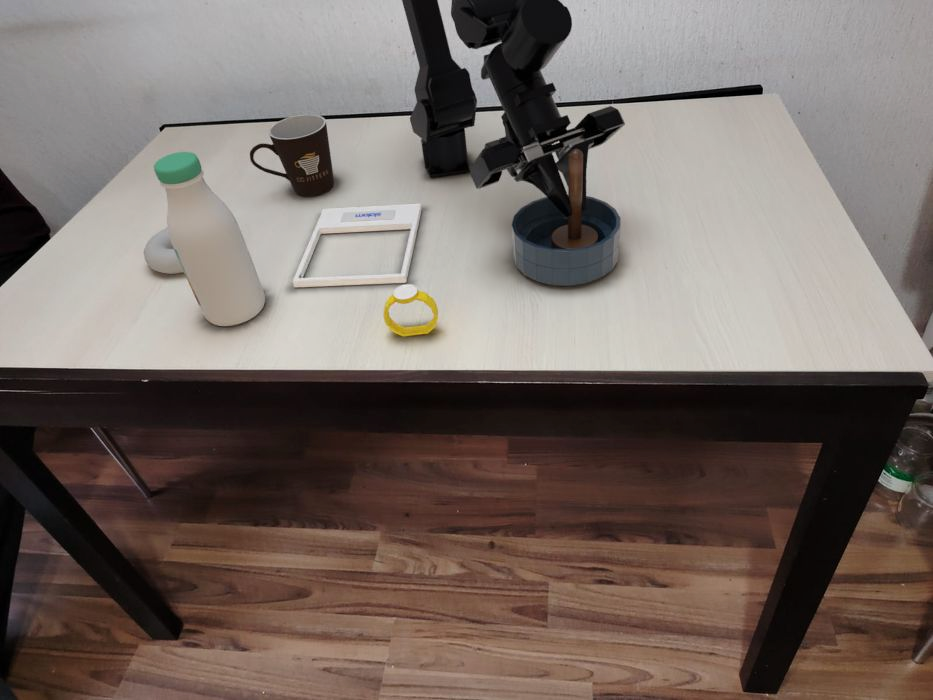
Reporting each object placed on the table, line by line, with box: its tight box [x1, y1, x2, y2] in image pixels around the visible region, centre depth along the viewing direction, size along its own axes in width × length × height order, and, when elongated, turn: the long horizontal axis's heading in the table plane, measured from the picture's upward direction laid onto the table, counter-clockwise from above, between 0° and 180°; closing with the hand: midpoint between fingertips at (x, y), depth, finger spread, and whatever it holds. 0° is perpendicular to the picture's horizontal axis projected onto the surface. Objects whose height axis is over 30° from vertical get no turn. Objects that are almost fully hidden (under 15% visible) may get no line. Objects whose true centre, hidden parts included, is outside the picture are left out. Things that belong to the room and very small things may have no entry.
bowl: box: [511, 195, 621, 287], centre depth 83 cm, size 13×13×6 cm
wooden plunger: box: [551, 149, 598, 249], centre depth 78 cm, size 6×6×14 cm
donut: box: [143, 227, 184, 275], centre depth 93 cm, size 10×3×10 cm
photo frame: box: [291, 203, 423, 288], centre depth 91 cm, size 15×1×18 cm
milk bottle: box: [153, 151, 266, 327], centre depth 77 cm, size 8×8×20 cm
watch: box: [383, 283, 439, 338], centre depth 75 cm, size 6×3×6 cm, turn 90°
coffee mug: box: [249, 114, 335, 198], centre depth 103 cm, size 12×9×10 cm
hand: (576, 213), depth 79 cm, fingers closed on wooden plunger
